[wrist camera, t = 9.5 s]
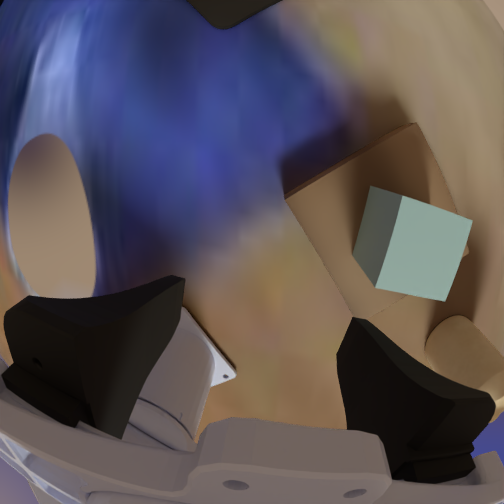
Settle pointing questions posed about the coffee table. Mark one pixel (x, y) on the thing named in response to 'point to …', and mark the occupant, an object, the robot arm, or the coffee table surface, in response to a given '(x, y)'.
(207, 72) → the coffee table surface
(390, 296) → the walnut base
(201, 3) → the phone
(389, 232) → the painted block
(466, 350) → the candle
